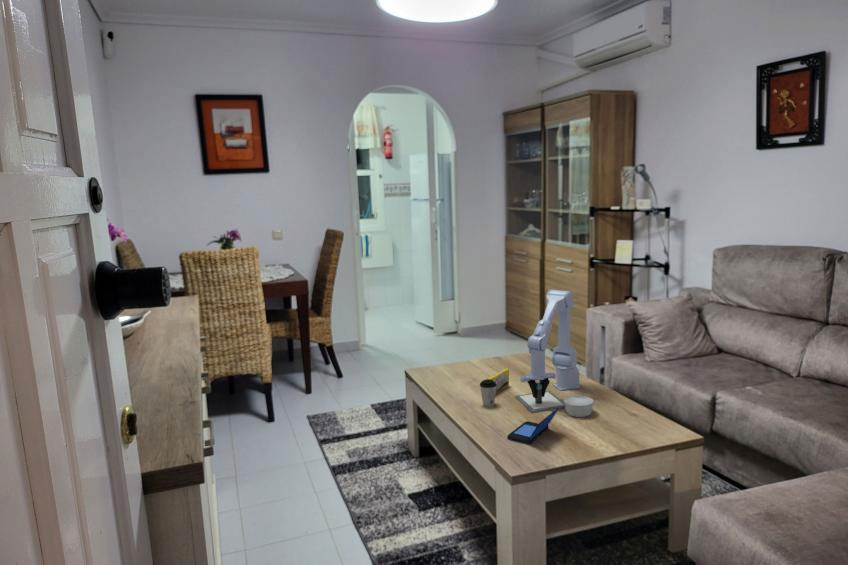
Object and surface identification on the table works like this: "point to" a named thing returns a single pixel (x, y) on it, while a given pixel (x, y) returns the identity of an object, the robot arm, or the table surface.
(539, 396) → the marker
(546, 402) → the sketch board
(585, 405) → the ramekin
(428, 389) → the table surface
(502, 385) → the candy box
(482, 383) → the coffee cup
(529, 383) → the robot arm
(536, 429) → the handheld game console
